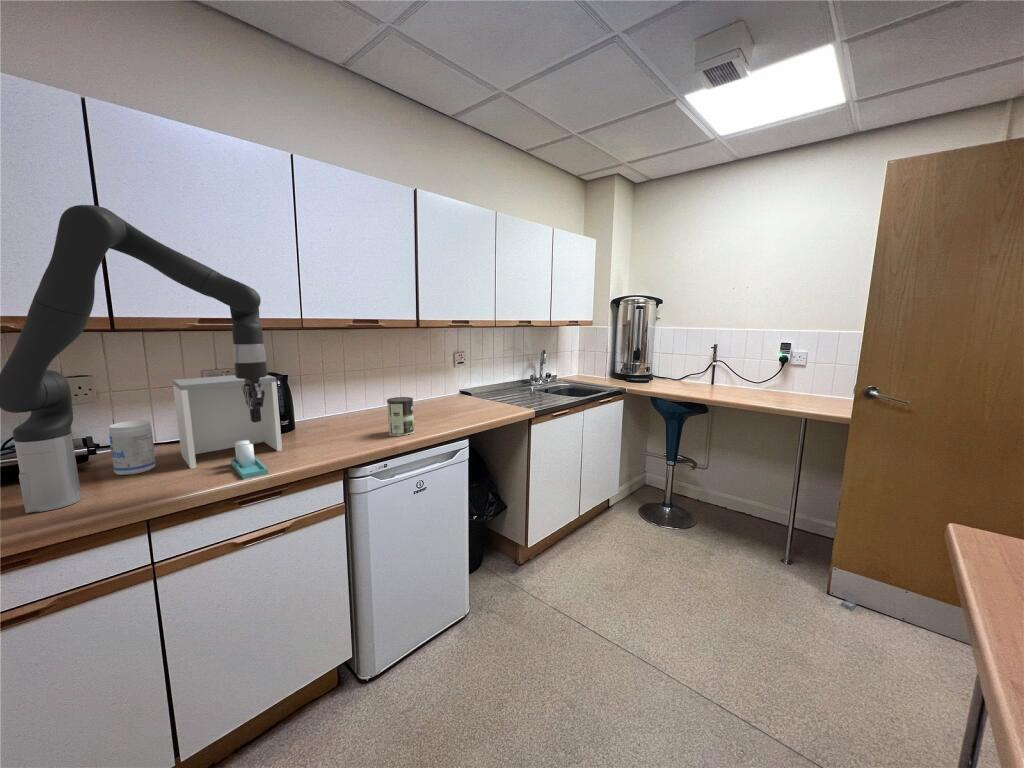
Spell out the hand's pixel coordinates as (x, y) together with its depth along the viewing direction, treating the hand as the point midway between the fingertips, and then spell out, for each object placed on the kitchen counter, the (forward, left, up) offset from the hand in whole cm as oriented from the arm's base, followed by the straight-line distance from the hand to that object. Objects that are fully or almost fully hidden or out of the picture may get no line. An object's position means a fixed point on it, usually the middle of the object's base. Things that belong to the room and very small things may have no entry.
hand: (256, 421), depth 117 cm
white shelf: (0, +35, -17) cm, 38 cm away
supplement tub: (-25, +36, -17) cm, 47 cm away
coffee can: (+55, +17, -17) cm, 60 cm away
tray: (0, +12, -17) cm, 21 cm away
